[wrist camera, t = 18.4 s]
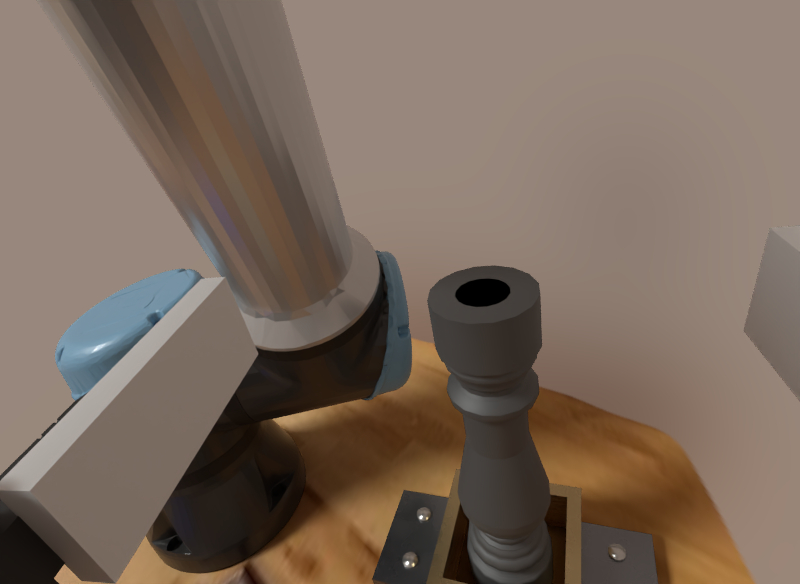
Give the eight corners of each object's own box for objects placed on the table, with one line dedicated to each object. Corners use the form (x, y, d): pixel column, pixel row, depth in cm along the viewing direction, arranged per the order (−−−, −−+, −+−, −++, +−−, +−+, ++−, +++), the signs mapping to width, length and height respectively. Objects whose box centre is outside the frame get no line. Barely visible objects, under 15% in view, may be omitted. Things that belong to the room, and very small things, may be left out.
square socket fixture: (370, 600, 35) (359, 572, 33) (409, 489, 43) (402, 460, 41) (667, 684, 28) (675, 653, 26) (648, 531, 36) (653, 499, 34)
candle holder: (500, 515, 39) (470, 255, 27) (568, 560, 35) (569, 278, 23) (455, 573, 36) (398, 305, 24) (525, 631, 32) (499, 342, 20)
